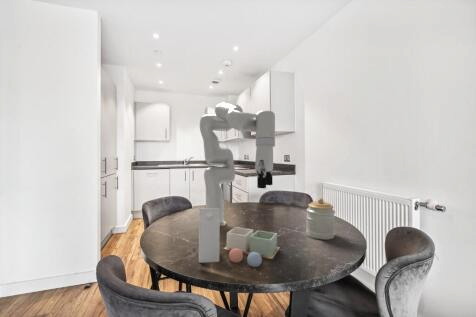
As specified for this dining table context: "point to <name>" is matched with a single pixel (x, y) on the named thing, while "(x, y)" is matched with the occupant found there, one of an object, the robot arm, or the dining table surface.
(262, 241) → the sage cup
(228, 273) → the dining table surface
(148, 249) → the dining table surface
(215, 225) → the milk carton
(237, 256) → the coral ball
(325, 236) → the jar
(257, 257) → the slate ball
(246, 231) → the cream cup
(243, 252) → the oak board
